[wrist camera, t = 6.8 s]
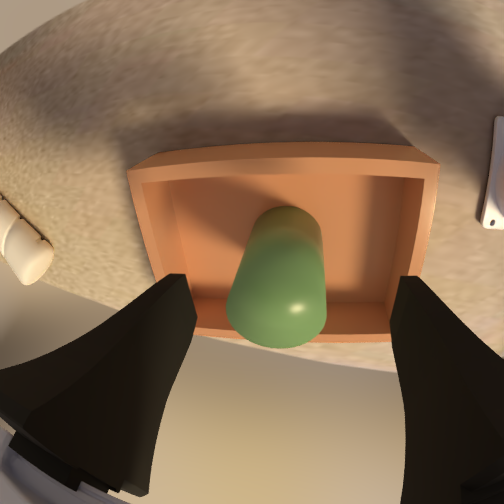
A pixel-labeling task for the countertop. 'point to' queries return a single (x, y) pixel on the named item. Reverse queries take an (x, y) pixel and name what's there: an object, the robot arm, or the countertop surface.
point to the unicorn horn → (22, 246)
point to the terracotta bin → (297, 195)
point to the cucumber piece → (280, 281)
